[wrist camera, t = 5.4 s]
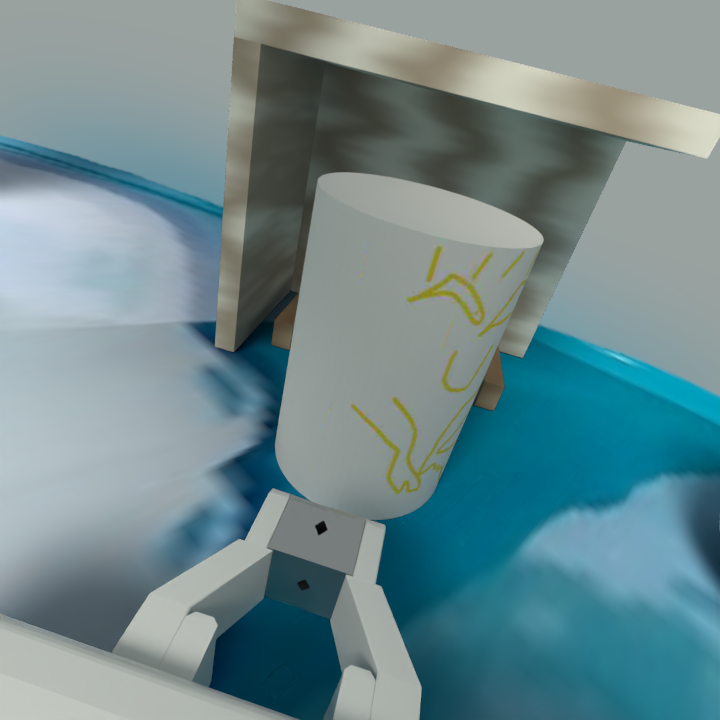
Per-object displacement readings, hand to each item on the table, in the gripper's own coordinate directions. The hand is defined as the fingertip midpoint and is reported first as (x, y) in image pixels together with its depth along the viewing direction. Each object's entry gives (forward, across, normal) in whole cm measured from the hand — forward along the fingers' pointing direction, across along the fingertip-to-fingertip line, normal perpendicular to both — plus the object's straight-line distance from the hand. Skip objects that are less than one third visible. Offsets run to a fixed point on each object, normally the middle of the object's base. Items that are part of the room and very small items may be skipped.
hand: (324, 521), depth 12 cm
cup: (+9, 0, +6) cm, 11 cm away
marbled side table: (+20, 0, +6) cm, 21 cm away
